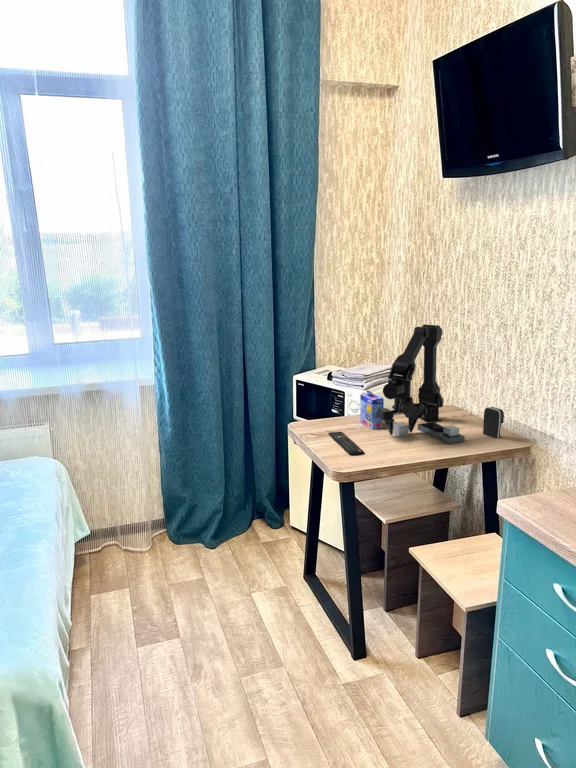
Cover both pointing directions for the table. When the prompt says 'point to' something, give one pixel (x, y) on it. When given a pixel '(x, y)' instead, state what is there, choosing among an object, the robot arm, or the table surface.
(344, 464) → the table surface
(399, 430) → the grey block
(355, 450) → the remote control
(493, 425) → the black zippered case
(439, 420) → the robot arm
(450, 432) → the light grey block
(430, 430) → the dark grey tray
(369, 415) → the ink cartridge box
